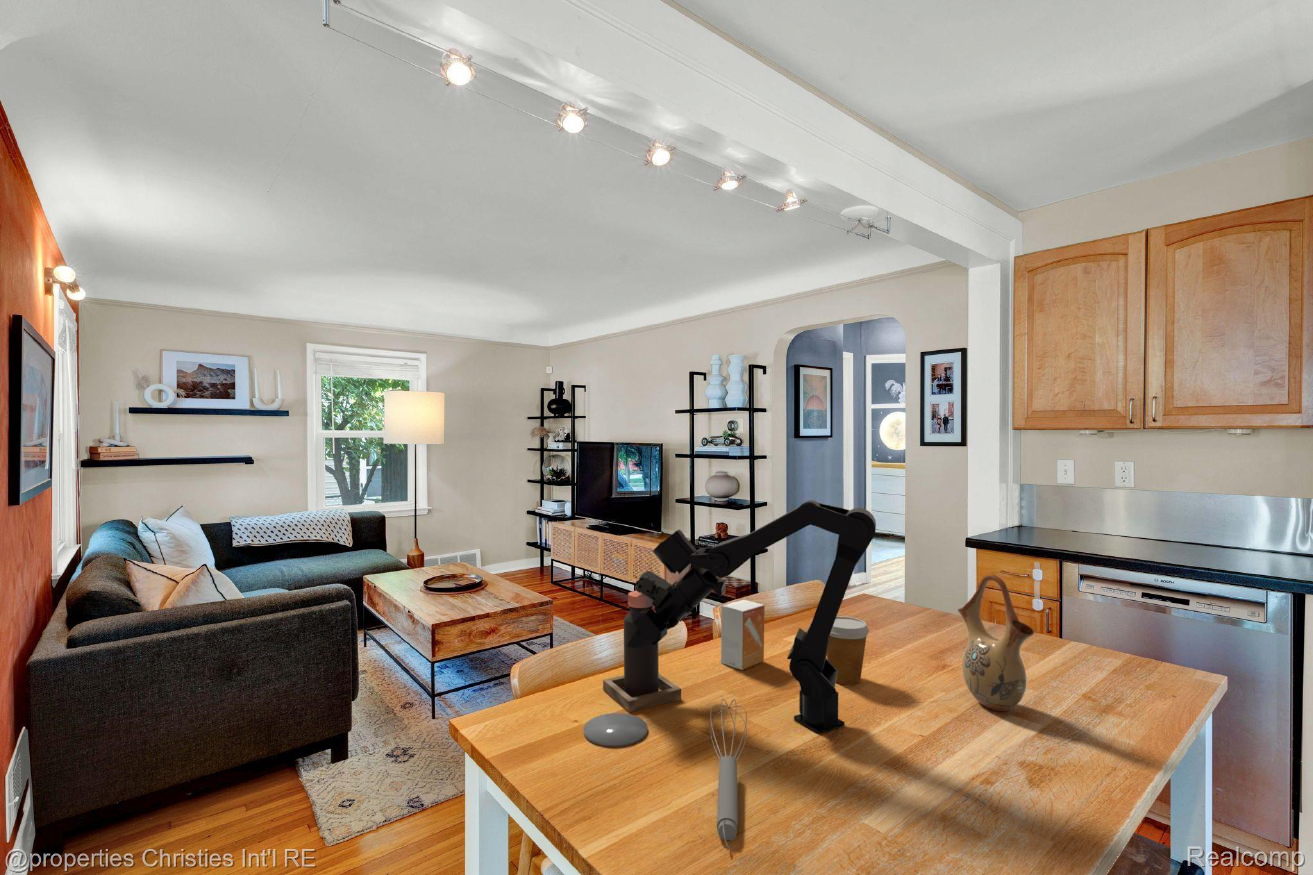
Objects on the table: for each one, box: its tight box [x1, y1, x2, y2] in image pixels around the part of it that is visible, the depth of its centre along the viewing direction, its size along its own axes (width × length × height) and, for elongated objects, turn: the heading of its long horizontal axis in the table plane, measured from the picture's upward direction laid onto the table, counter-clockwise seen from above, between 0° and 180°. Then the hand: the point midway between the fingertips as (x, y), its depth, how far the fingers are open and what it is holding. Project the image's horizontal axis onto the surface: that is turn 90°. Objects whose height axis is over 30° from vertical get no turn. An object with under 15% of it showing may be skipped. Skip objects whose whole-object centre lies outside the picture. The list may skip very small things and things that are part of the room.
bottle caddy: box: [602, 673, 682, 713], centre depth 123 cm, size 11×11×2 cm
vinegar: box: [623, 590, 660, 697], centre depth 122 cm, size 7×7×20 cm
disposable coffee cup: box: [826, 615, 870, 686], centre depth 131 cm, size 10×10×12 cm
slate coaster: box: [583, 712, 648, 748], centre depth 108 cm, size 11×11×1 cm
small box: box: [720, 599, 766, 671], centre depth 140 cm, size 8×6×13 cm
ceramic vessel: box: [957, 574, 1035, 712], centre depth 118 cm, size 16×9×25 cm, turn 17°
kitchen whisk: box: [709, 698, 748, 850], centre depth 93 cm, size 6×34×6 cm, turn 173°
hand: (635, 641), depth 123 cm, fingers closed on vinegar, 6 cm apart
